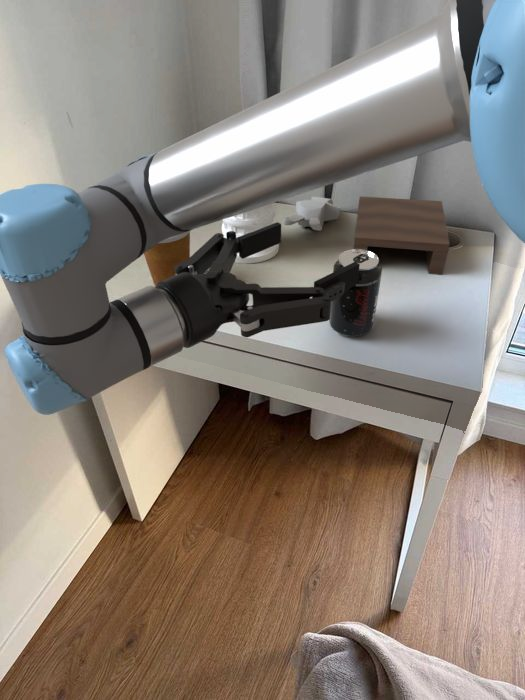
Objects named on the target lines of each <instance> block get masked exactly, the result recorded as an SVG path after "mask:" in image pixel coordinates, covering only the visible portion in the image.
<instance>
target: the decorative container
mask: <svg viewBox="0 0 525 700" xmlns="http://www.w3.org/2000/svg"><path fill="white" fill-rule="evenodd" d="M275 217H276V209H275V205H274V203H272V204H269V205H266V206H262V207H259V208H256V209H253V210H250V211H247V212H244V213H241V214H238V215H235V216H232V217H229V218H226V219H223V220H222V224H221V234H223V235H224V238H227V234H226V233H227V232H229V231H234V232H236V238H237V237H240V236H242V235H245V234H247V233H251V232H254V231H256V230H259V229H261V228H264V227H266V226H269V225H271V224H274V223H275V221H274V218H275ZM279 250H280V243H279V244H277V245H274V246H272V247H270V248H267V249H265V250H263V251H260V252H258V253H255V254H253V255H251V256H248V257H246V258H244V259H242V258H241V257H239V253H237V257H236V260H235V262H234V263H239V264H257V263H262V262H265V261H268V260H270V259H272V258H274V257H275V256H276V255H277V254H278V252H279Z"/></svg>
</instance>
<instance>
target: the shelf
mask: <svg viewBox="0 0 525 700" xmlns="http://www.w3.org/2000/svg"><path fill="white" fill-rule="evenodd" d="M354 230H355V231H354V239H353V240H354V241H353V248H352V249H362V250H367V251H368V247H373V248H385V249H386V248H387V249H388V248H389V249H399V250H400V249H401V250H412V251H413V250H415V251H425V254H426V263H427V271H428V272H427V273H428V274H429V275H440V276H442V275H443V274H444V269H445V265H446V261H447V258H448V254H449V249H450V244H451V243H450V238H449V234H448V228H447V222H446V217H445V211H444V206H443V201H442V200H427V199H413V198H412V199H409V198H395V197H393V198H392V197H379V196H378V197H377V196H376V197H375V196H361V195H360V196H359V199H358V207H357V215H356V223H355V229H354Z"/></svg>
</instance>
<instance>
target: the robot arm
mask: <svg viewBox="0 0 525 700" xmlns="http://www.w3.org/2000/svg"><path fill="white" fill-rule="evenodd" d="M461 142H469V143H471V150H472V153H473V160H474V164H475V168H476V170H477V175H478V177H479V180H480V182H481V185H482V187H483V190H484V192H485V194H486V196H487V198H488V200H489V201H490V203H491V205H492V206H493V208H494V209H495V212H496V213H497V214H498V216H499V217H500V219H501V220H502V221H503V223H505V225H506V226H507V227H508V228H509V230H510V231H511V232H512V233H513V234H514V235H515V236H516V237H517V238H518V240H520V241H521V242H523V244H525V0H446V2H445V4H444V6H443V8H442V11H440V13H439V14H438V15H436V16H434V17H432V18H430V19H428V20H426V21H424V22H422V23H420V24H418V25H416V26H414V27H412V28H409V29H408V30H405V31H403V32H401V33H399V34H397V35H395V36H393V37H391V38H389V39H386V40H385V41H383V42H381V43H379V44H377V45H375V46H373V47H371V48H368V49H367V50H365V51H362V52H360V53H358V54H356V55H354V56H352V57H350V58H348V59H346V60H343V61H342V62H340V63H337V64H336V65H333V66H332V67H329V68H328V69H325V70H323V71H320V72H319V73H317V74H315V75H313V76H311V77H309V78H306V79H305V80H303V81H301V82H299V83H297V84H295V85H292V86H291V87H288V88H286V89H284V90H282V91H280V92H278V93H276V94H274V95H272V96H270V97H268V98H266V99H264V100H261V101H260V102H258V103H255V104H254V105H251V106H249V107H247V108H245V109H243V110H241V111H239V112H237V113H235V114H233V115H231V116H228V117H226V118H224V119H222V120H220V121H218V122H217V123H214V124H212V125H210V126H208V127H205V128H204V129H201V130H199V131H198V132H196V133H194V134H192V135H189V136H187V137H185V138H183V139H182V140H179V141H177V142H175V143H173V144H171V145H169V146H167V147H165V148H163V149H161V150H160V151H158V152H154V153H152V154H148V155H144V156H142V157H139V158H138V159H136V160H134V161H132V162H130V163H129V164H127V165H126V166H125V167H124V168H121V169H120V170H118V171H116V172H114V173H113V174H111V175H109V176H107V177H106V178H104V179H103V180H101V181H99V182H97V183H95V184H94V185H92V186H89V187H87V188H85V189H83V190H81V191H79V192H76V190H74V188H73V189H72V188H71V187H69V186H66V185H63V184H58V183H36V184H28V185H25V186H23V187H22V188H16V189H14V188H13V189H10V190H7V191H4V192H2V193H0V277H1V279H2V281H3V283H4V286H5V288H6V291H7V293H8V294H9V297H10V299H11V301H12V303H13V305H14V308H15V310H16V313H17V314H18V317H19V318H20V321H21V322H20V323H21V324H20V325H21V327H22V333H23V335H21V336H19V337H18V338H17V339H15V340H14V341H12V342H9V343H8V344H7V345H6V346H5V348H4V356H5V358H6V360H7V364H8V366H9V368H10V370H11V373H12V374H13V376H14V378H15V380H16V382H17V384H18V386H19V387H20V389H21V391H22V393H23V395H24V397H25V399H26V400H27V401H28V403H29V404H30V406H31V407H32V408H33V410H34V411H35V412H37V413H38V414H39V415H44V416H50V415H54V414H57V413H59V412H61V411H63V410H65V409H68V408H70V407H72V406H76V405H77V404H80V403H84V402H87V401H88V400H89V399H91V398H93V397H94V396H96V395H98V394H100V393H102V392H103V391H106V390H107V389H109V388H111V387H113V386H115V385H117V384H118V383H121V382H123V381H124V380H127V379H128V378H130V377H133V376H134V375H136V374H138V373H141V372H142V371H145V370H147V369H149V368H150V367H152V366H155V365H156V364H158V363H160V362H163V361H165V360H167V359H169V358H170V357H173V356H174V355H176V354H178V353H181V352H182V351H183V348H185V349H189V348H192V347H194V346H196V345H198V344H200V343H202V342H204V341H206V340H208V339H210V338H213V336H214V335H215V334H216V333H217V331H218V330H219V329H220V327H221V326H222V325H224V324H228V323H235V324H237V326H239V328H240V335H241V336H242V337H243V338H250V337H253V336H255V335H257V334H259V333H262V332H265V331H273V330H280V329H286V328H291V327H298V326H305V325H310V324H311V325H312V324H319V323H324V322H328V321H329V319H330V312H331V301H333V300H335V299H337V298H338V297H341V296H342V295H343V294H344V291H345V290H347V289H349V288H351V287H353V286H355V285H357V282H358V274H359V266H360V264H358V263H356V262H353V263H351V264H349V265H347V266H345V267H343V268H341V269H339V270H337V271H335V272H333V271H332V272H331V273H329V274H326V275H325V276H323V277H321V278H319V279H317V280H315V281H313V286H290V287H289V286H283V287H281V286H279V287H278V286H277V287H274V286H273V287H272V286H271V287H270V286H268V287H263V286H260V285H259V284H258V283H247V282H245V281H244V280H241V279H238V277H236V275H235V274H234V273H232V272H231V271H232V269H233V266H234V264H235V263H236V262H235V260H236V257H237V253H239V257H241V258H242V259H244V258H246V257H248V256H251V255H253V254H255V253H258V252H260V251H263V250H265V249H267V248H270V247H272V246H274V245H277V244H279V245H280V244H282V223H280V222H278V221H277V222H274V224H271V225H269V226H266V227H264V228H261V229H259V230H256V231H254V232H251V233H247V234H245V235H242V236H240V237H237V238H236V232H234V231H229V232H227V233H226V234H227V238H224V235H223V233H222V232H221V233H220V232H217V233H215V234H214V235H212V236H211V237H210V238H209V239H208V240H207V241H206V242H205V243H204V244H203V245H201V247H199V249H198V250H196V251H195V252H194V253H193V254H191V255H190V258H189V259H188V260H186V261H184V262H182V263H180V264H178V265H176V266H175V267H174V269H175V276H173V277H170V278H168V279H165V280H163V281H160V282H158V283H157V284H156V286H155V285H154V286H153V285H147V286H144V287H142V288H140V289H137V290H135V291H133V292H130V293H128V294H126V295H123V296H122V297H119V298H116V299H114V300H112V301H110V298H109V295H108V290H107V285H106V284H107V283H108V282H109V281H111V279H113V278H115V277H116V276H117V275H118V274H119V273H120V272H122V271H123V270H124V269H125V268H127V267H128V266H130V265H131V264H132V263H134V262H135V261H136V260H138V259H139V258H141V257H142V256H143V255H144V253H145V252H147V251H148V250H149V249H151V248H152V247H153V246H155V245H156V244H157V243H159V242H161V241H163V240H165V239H167V238H170V237H173V236H176V235H179V234H182V233H185V232H187V231H190V230H191V231H193V230H195V229H199V228H201V227H204V226H207V225H211V224H214V223H217V222H220V221H223V219H226V218H229V217H232V216H235V215H238V214H241V213H244V212H247V211H250V210H253V209H256V208H259V207H262V206H266V205H269V204H272V203H273V204H275V203H277V202H281V201H283V200H286V199H289V198H294V197H297V196H300V195H302V194H305V193H309V192H312V191H314V190H318V189H321V188H323V187H326V186H329V185H332V184H336V183H339V182H342V181H345V180H348V179H351V178H354V177H357V176H360V175H363V174H366V173H369V172H372V171H376V170H378V169H381V168H385V167H388V166H390V165H394V164H397V163H399V162H402V161H406V160H409V159H412V158H416V157H418V156H422V155H424V154H427V153H430V152H435V151H436V150H440V149H442V148H445V147H449V146H452V145H454V144H458V143H461ZM191 231H190V232H191ZM250 295H251V296H252V305H248V304H249V301H250Z"/></svg>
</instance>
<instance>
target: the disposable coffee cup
mask: <svg viewBox="0 0 525 700" xmlns="http://www.w3.org/2000/svg"><path fill="white" fill-rule="evenodd" d="M191 231H192V230H190V231H187V232H185V233H182V234H179V235H176V236H173V237H170V238H167V239H165V240H163V241H161V242H159V243H157V244H156V245H155V246H153V247H152V248H151V249H149V250H148V251H147V252H145V253H144V254H143V255H144V258H145V262H146V265H147V267H148V271H149V273H150V276H151V279H152V282H153V285H154V287H155V286H156V284H157V283H158V282H160V281H163V280H165V279H168V278H170V277H173V276H175V269H174V267H175V266H176V265H178V264H180V263H182V262H184V261H186V260H188V259H189V258H190V257H191Z"/></svg>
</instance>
